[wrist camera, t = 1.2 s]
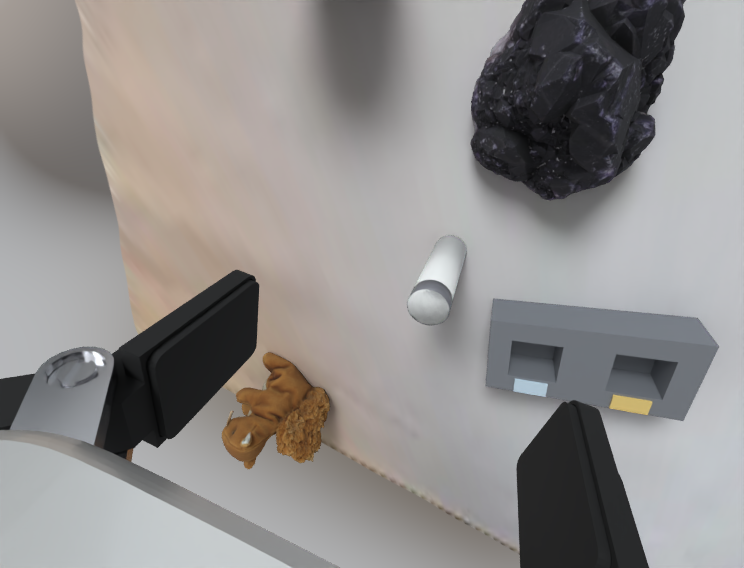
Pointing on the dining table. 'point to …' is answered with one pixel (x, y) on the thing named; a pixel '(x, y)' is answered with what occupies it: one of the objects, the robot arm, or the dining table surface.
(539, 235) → the dining table surface
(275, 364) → the stuffed squirrel
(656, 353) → the socket block
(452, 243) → the plug
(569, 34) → the black rock
